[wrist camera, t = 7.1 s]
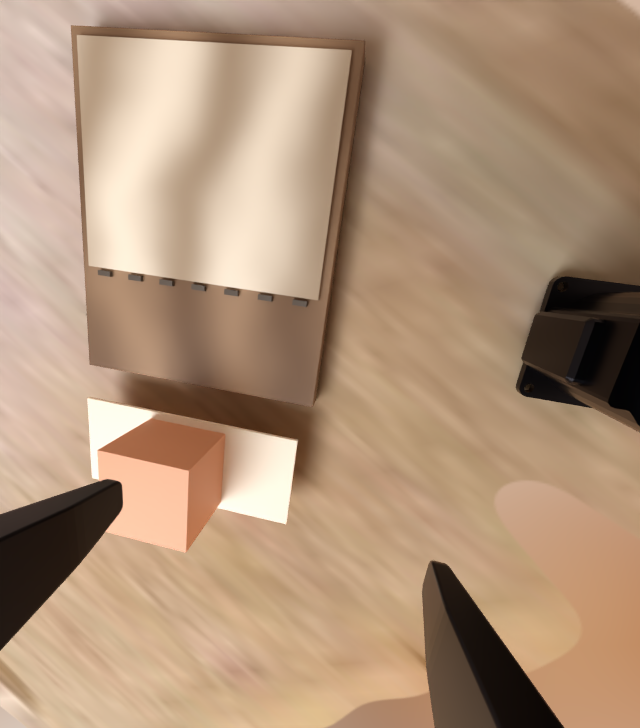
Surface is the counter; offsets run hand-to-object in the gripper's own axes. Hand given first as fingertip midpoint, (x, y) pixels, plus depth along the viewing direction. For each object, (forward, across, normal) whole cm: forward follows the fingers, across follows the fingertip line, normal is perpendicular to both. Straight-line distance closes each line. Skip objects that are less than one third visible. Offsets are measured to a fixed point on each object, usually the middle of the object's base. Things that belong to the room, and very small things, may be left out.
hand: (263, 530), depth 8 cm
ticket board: (+11, +8, -9) cm, 16 cm away
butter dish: (+9, +8, +5) cm, 13 cm away
